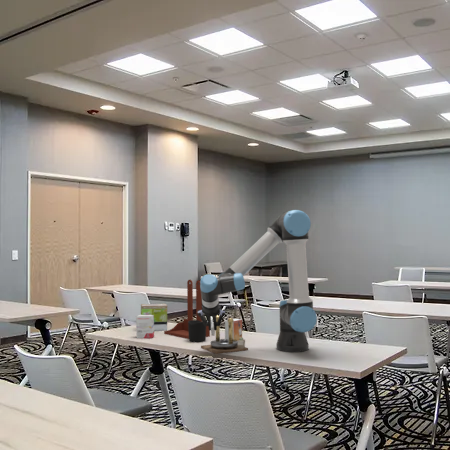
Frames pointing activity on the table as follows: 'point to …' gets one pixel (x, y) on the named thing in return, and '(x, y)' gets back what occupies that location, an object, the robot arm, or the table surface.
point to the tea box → (156, 315)
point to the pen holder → (196, 331)
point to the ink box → (145, 326)
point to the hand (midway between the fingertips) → (213, 333)
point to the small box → (234, 329)
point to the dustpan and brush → (189, 313)
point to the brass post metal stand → (224, 342)
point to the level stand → (227, 350)
